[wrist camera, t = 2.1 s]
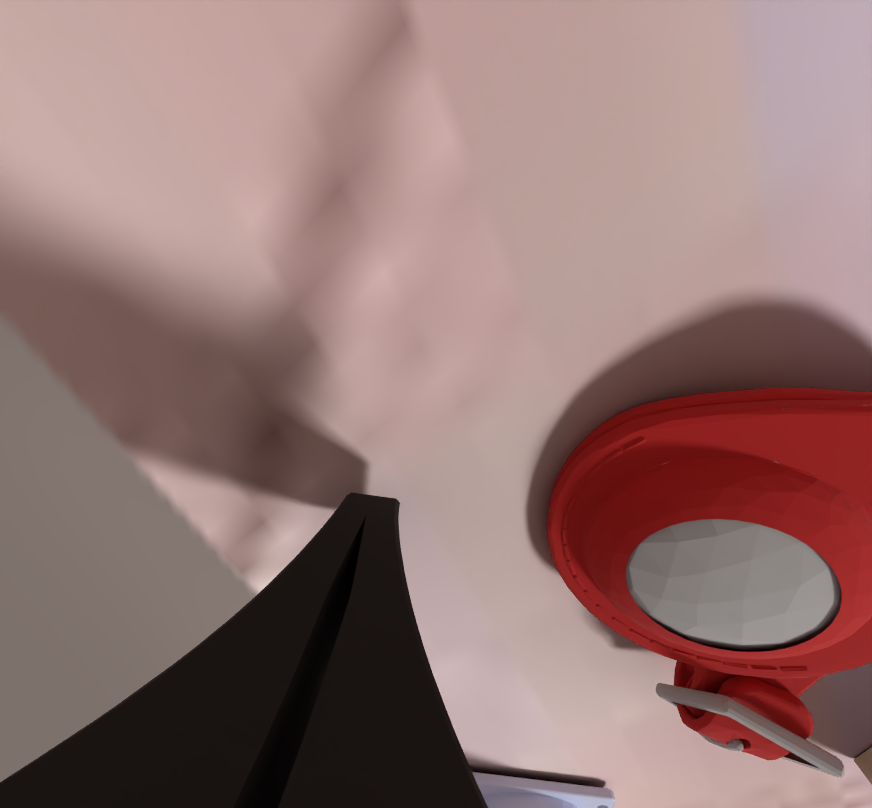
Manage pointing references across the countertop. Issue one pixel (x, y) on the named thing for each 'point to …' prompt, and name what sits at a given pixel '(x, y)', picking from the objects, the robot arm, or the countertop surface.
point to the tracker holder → (729, 552)
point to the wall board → (865, 763)
